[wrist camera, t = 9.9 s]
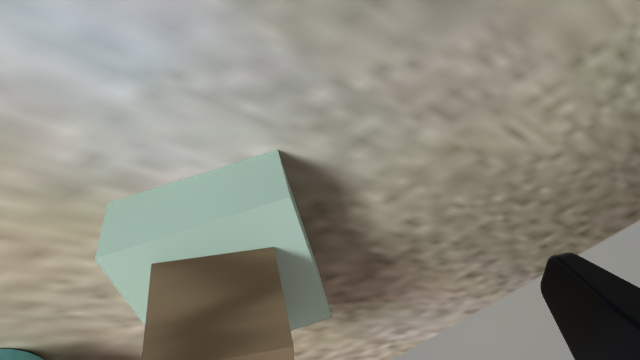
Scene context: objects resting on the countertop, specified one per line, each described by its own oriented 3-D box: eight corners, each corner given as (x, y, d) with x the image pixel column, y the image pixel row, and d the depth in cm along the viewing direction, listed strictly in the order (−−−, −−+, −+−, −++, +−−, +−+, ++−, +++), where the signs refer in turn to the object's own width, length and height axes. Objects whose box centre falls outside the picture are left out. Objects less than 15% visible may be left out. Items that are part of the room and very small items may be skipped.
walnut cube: (274, 247, 20) (293, 346, 16) (278, 322, 23) (296, 423, 19) (151, 263, 19) (140, 373, 15) (172, 340, 22) (167, 449, 18)
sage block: (276, 145, 22) (290, 197, 19) (315, 260, 27) (332, 317, 24) (109, 198, 22) (94, 259, 19) (179, 304, 27) (176, 368, 24)
